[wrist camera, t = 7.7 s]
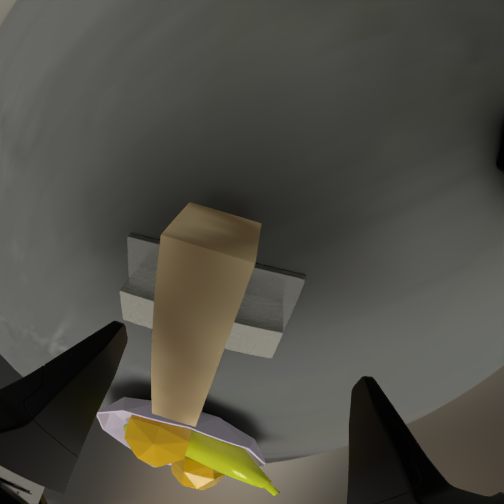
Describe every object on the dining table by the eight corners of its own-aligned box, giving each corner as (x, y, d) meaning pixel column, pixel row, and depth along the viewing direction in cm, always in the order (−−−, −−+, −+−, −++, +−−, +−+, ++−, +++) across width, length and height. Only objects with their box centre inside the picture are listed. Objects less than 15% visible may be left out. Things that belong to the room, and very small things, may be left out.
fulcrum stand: (305, 275, 20) (309, 309, 17) (276, 343, 24) (275, 377, 21) (130, 233, 20) (105, 258, 17) (133, 306, 24) (116, 335, 20)
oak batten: (261, 223, 14) (255, 263, 11) (204, 391, 23) (195, 426, 20) (189, 201, 14) (161, 234, 11) (164, 379, 23) (151, 413, 19)
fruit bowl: (117, 420, 42) (100, 463, 32) (103, 349, 29) (66, 420, 19) (246, 459, 44) (241, 504, 35) (309, 412, 31) (310, 487, 21)
